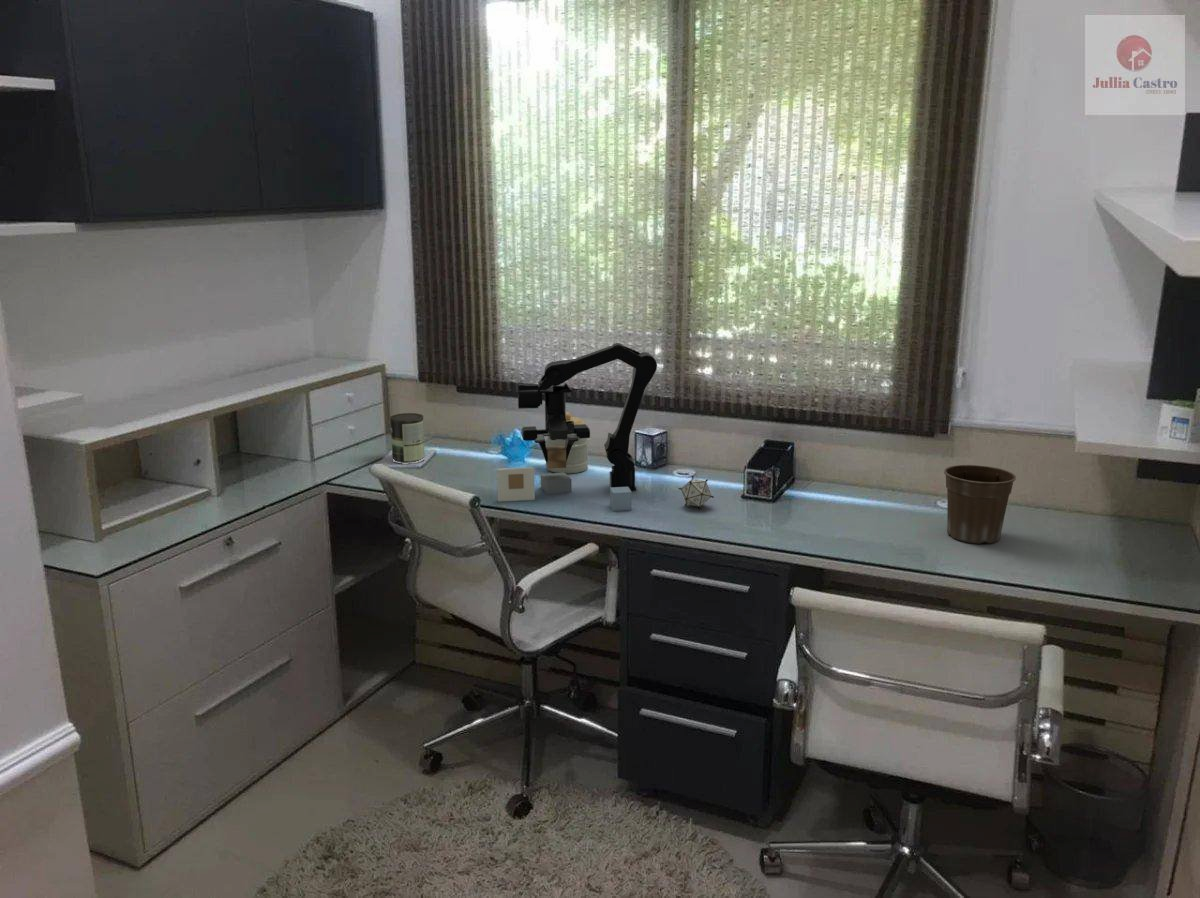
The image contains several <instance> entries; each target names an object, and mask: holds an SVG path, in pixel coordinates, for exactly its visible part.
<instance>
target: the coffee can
mask: <svg viewBox="0 0 1200 898" xmlns="http://www.w3.org/2000/svg"><path fill="white" fill-rule="evenodd" d="M389 420H390V421H389V423H390V438H391V439H390V441H391V454H392V455H391V457H392V458H393V459H394V460H395V461H397V462H401V463H412V462H416V461H419V460H421V459H423V458H424V457H425V458H426V455H425V453H426V452H425V438H424V437H425V435H424V432H425V431H424V415H423V414H421V413H414V412H407V413H406V412H405V413H397V414H393V415H391V416H389ZM392 458H391V459H392Z"/></svg>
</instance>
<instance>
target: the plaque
mask: <svg viewBox="0 0 1200 898" xmlns="http://www.w3.org/2000/svg"><path fill="white" fill-rule="evenodd" d="M496 479H497V480H496V481H497V482H496V483H497V485H496V486H497V502H517V501H535V499H536V497H535V493H536V492H535V491H536V490H535V467H534V466H530V467H529V466H528V467H524V466H523V467H506V468H502V467H501V468H496Z"/></svg>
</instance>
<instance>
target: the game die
mask: <svg viewBox="0 0 1200 898" xmlns="http://www.w3.org/2000/svg"><path fill="white" fill-rule="evenodd" d="M708 480H709V479H708V478H707V479H705V480H702V479H697V478H694V476H693V475H691V479H689V481H688V482H686V484H685V485H683V486H682V487H678V490H679V491H681V493H682V496H683V497H684V498H683V499H684V501H685V504H684V507H686V506H688V505H689V506H693V507H697V508H698V510H699V511H701V510H702V508H701V507H702V506H703V505H704V504H705V503H706V502H708V500H709V499H711V498H713V499H714V498H715V496H714V495H712V494H711V492H710V488H709V485H708V483H707V482H708Z"/></svg>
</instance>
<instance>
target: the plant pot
mask: <svg viewBox="0 0 1200 898" xmlns="http://www.w3.org/2000/svg"><path fill="white" fill-rule="evenodd" d="M943 473H944V475H945V487H946V491H947V497H946V500H947V502H946V503H947V505H946V506H947V508H946V509H947V510H946V511H947V513H946V514H947V519H946V520H947V525H946V531H947V535H948V536H951V537H950V538H952V539H955V540H957V541H959V542H964V543H966V544H967V543H969V544H983V543H987V544H995V543H997V542H999V540H1001V534H1002V529H1003V526H1004V520H1005V515H1006V511H1007V505H1008V502H1009V498H1010V494H1012V489H1013V484H1014V482H1015V481H1016V479H1017V476H1016V474H1014V473H1013V472H1011V471H1009V470H1006V469H1002V468H998V467H994V466H987V465H980V464H979V465H977V464H976V465H975V464H959V465H952V466H948V467H945V468H944V470H943Z"/></svg>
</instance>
